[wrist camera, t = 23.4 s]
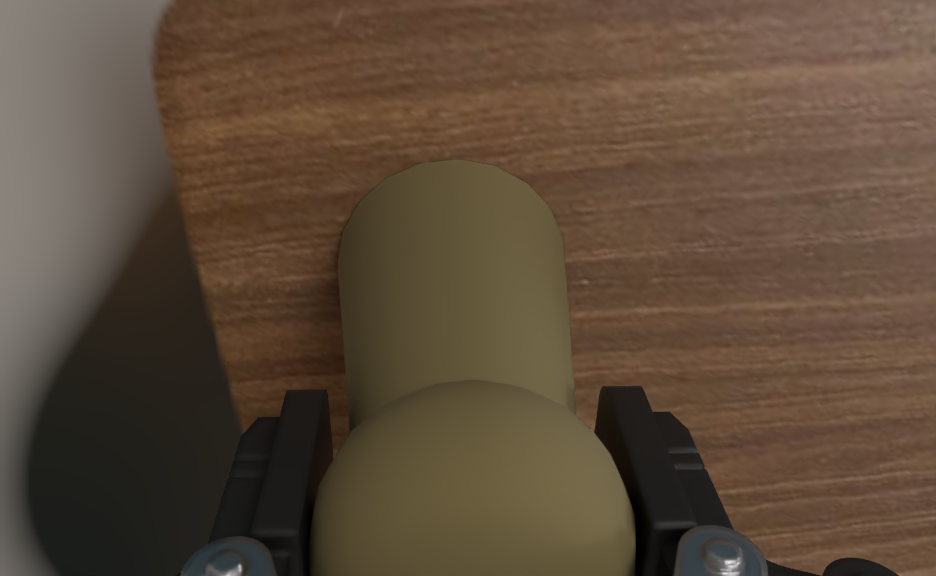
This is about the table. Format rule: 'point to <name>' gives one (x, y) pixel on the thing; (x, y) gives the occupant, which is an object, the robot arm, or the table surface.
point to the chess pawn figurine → (463, 393)
